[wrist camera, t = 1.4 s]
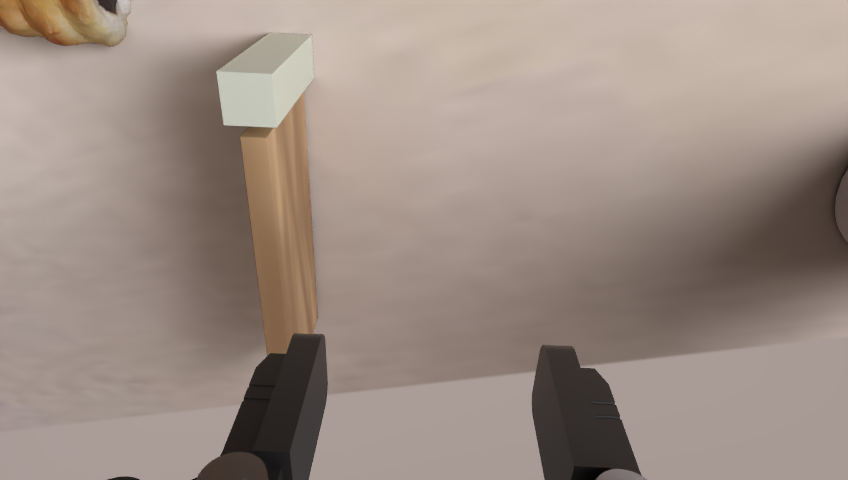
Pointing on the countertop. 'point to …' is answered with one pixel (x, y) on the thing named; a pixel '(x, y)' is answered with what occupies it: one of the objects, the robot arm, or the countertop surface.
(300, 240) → the door
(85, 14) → the pastry
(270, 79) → the grey rectangular block
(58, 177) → the countertop surface
